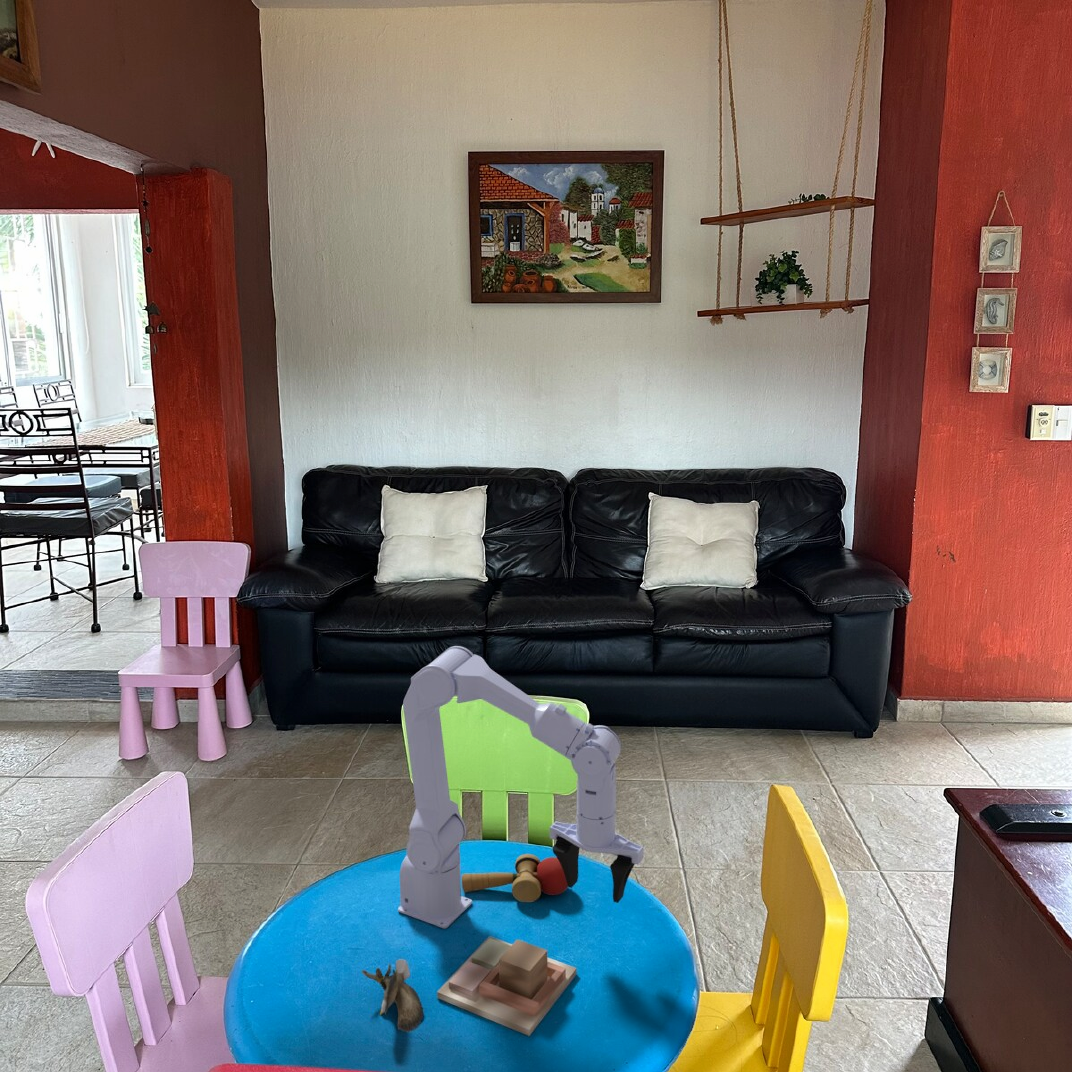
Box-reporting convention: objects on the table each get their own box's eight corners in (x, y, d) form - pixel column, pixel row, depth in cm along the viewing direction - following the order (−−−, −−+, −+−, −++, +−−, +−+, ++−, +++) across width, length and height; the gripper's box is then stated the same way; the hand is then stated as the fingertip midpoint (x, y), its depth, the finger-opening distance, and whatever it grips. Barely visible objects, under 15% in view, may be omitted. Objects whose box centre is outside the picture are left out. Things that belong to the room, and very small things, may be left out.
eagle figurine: (349, 999, 136) (374, 1027, 129) (370, 948, 138) (396, 973, 130) (395, 1009, 140) (422, 1038, 132) (414, 960, 141) (442, 985, 134)
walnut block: (499, 989, 138) (498, 959, 137) (517, 969, 142) (517, 939, 141) (529, 1002, 136) (529, 971, 134) (547, 980, 140) (547, 950, 139)
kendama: (463, 914, 159) (572, 902, 158) (457, 877, 158) (567, 864, 157) (468, 894, 167) (573, 881, 165) (463, 858, 166) (568, 845, 165)
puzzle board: (437, 997, 138) (436, 982, 137) (489, 941, 150) (489, 927, 149) (529, 1035, 131) (529, 1020, 130) (576, 973, 143) (576, 959, 142)
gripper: (652, 809, 143) (650, 891, 146) (565, 786, 150) (564, 864, 153) (633, 832, 137) (631, 916, 140) (542, 806, 144) (543, 888, 147)
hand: (595, 891), depth 146 cm, fingers open, 7 cm apart
